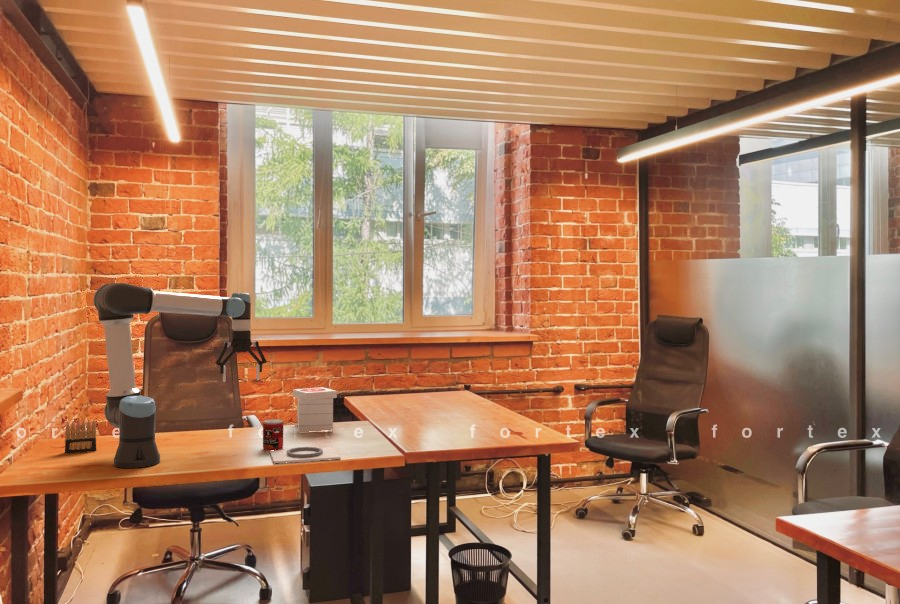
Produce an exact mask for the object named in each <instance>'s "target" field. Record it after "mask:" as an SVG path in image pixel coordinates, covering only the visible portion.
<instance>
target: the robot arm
mask: <svg viewBox="0 0 900 604" xmlns="http://www.w3.org/2000/svg"><path fill="white" fill-rule="evenodd" d="M93 305H94V308H95V309H96V310H97V316H98V322H99V323H100V324H102V325H103V328H104V339H105V349H106V359H107V360H106V361H107V369H108V371H107V372H108V381H109V391H108V392H106V394H105V397H106V404H105V406H104V409H103V411H104V417H105V419H106V421H108V423H109V424H110V425H111V426H113V427H114V428H117V429H119V442H118V446H117V449H116V451H115V454H114V457H113V466H114V467H116V468H118V467H120V468H119V469H139V467H141V468H146V466H147V467H152V466H156V465H157V464H160V462H161V454H160V452H159V449H158V445H157V443H156V410H157V409H156V408H157V407H156V401H155V399H154V398H152V397H149V396H145V395H142V394H141V393H142V392H141V389H140V388H138V387H137V386H136V376H135V375H136V373H135V364H134V354H133V344H132V333H131V332H132V331H131V325H130V323H131V321H133V320H134V318H135V317H134V315H139V314H140V315H142V314H143V315H150V314H151V313H152V312H154V313H156V312H157V313H166V314H168V313H171V314H183V315H184V314H185V315H198V316H199V315H200V316H205V317H227V318H231V330H232V331H231V342H227V341H223V346H222V348H221V350H220V352H219V354H218V356H217V359H216V360H215V364H216V366H217V365H218V366H219V373H220V375H222V383H226V380H227V377H226V375H227V373H226V371H227V368H226V365H225V364H226V363H228V361H229V360H230V359H231V358H232V356H233V355H234V354H235V353H246V352H247V353H248V354H249V355H250V356H251V357H252V358H253V359H254V360H255V361H256V363H257V364H256V367H255V368H256V374H255V375H256V376H255V377H256V381H260V373H263V365H264V364H267V360H266V357H265V355H264V353H263V351H262V350H261V347H260V344H259V341H257V340H254V341H252V333H251V332H252V331H251V330H250V329H251V327H252V326H251V323H252V322H251V314H252V313H251V311H252V310H251V308H252V307H251V305H252V301H251V294H250V293H249V292H232V294H231V297H229V296H218V295H205V294H193V293H185V292H184V293H182V292H173V291H172V292H171V291H159V290H153V288H151V287H146V286H140V285H135V284H131V283H126V282H110V283H108V282H107V283H105V284H104V285H102V286H100V287H98V288H97V290H96V291H95V292H94V295H93ZM251 346H253V347H255V350H256V351H257V353H258V355H259V357H260V358H259V357H258V356H257V355H256V353H254V352H253V350H252V349H251V348H252V347H251ZM229 347H231V349H230V351H229V353H228V354H227V355H226V356H225V357H224V355H225V353H226V351H227V350H228V348H229ZM223 357H224V358H223ZM151 465H152V466H151Z"/></svg>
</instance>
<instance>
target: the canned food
mask: <svg viewBox="0 0 900 604" xmlns="http://www.w3.org/2000/svg"><path fill="white" fill-rule="evenodd" d="M283 447H284V420H283V419H278V418H277V419H276V418H275V419H266V420H263V421H262V448H263V450H264V451H268V450H278V449H280V450H283Z"/></svg>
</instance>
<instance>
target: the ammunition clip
mask: <svg viewBox="0 0 900 604" xmlns="http://www.w3.org/2000/svg"><path fill="white" fill-rule="evenodd" d="M86 423H87V424H86ZM91 423H92V424H91ZM96 425H97V424H96V421H95V419H93V420H92V422H91V421H90V419H88V420H87V422H85V420H82V423H80V421H79V420H77V423H76V424H75V422H74V420H73V421H72V422H71V425H70V422H69V421H67V422H66V425H65V433H64V435H65V436H64V437H65V438H64V454H65V453H67V454H76V452H80V453H88V452H87V451H92V452H97V429H96V427H97V426H96ZM70 426H71V427H70Z"/></svg>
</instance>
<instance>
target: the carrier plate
mask: <svg viewBox="0 0 900 604" xmlns="http://www.w3.org/2000/svg"><path fill="white" fill-rule="evenodd" d="M269 454H270V457H271V460H272V462H274V463H273V465H276V464H275V463H284V464H291V463H290V462H299V463H311V461H314V462H321V461H320V460H328V459H341V458H342V456H341V455H340V454H339V453H338V452H337V451H336V449H335V448H334V447H333V446H328V447H316V446H315V447H314V446H302V447H301V446H300V447H294V448H290V449H280V450H274V451H269ZM286 462H287V463H286ZM288 462H289V463H288Z"/></svg>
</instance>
